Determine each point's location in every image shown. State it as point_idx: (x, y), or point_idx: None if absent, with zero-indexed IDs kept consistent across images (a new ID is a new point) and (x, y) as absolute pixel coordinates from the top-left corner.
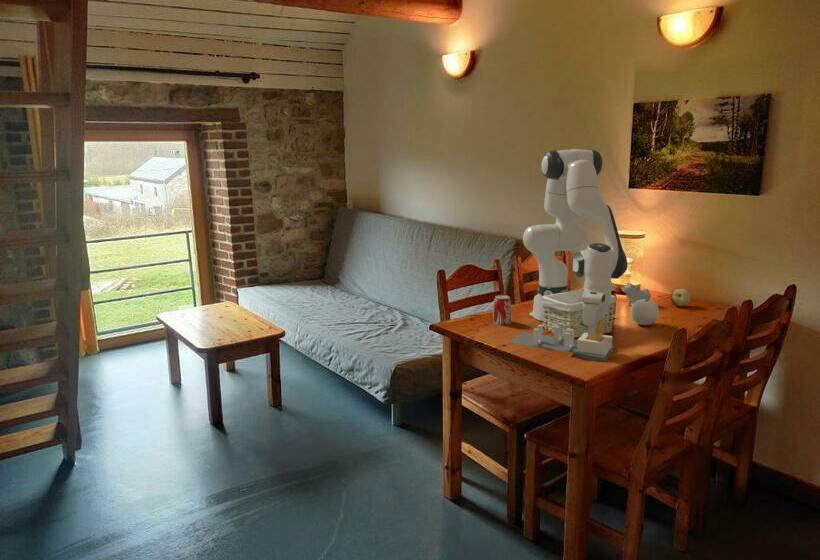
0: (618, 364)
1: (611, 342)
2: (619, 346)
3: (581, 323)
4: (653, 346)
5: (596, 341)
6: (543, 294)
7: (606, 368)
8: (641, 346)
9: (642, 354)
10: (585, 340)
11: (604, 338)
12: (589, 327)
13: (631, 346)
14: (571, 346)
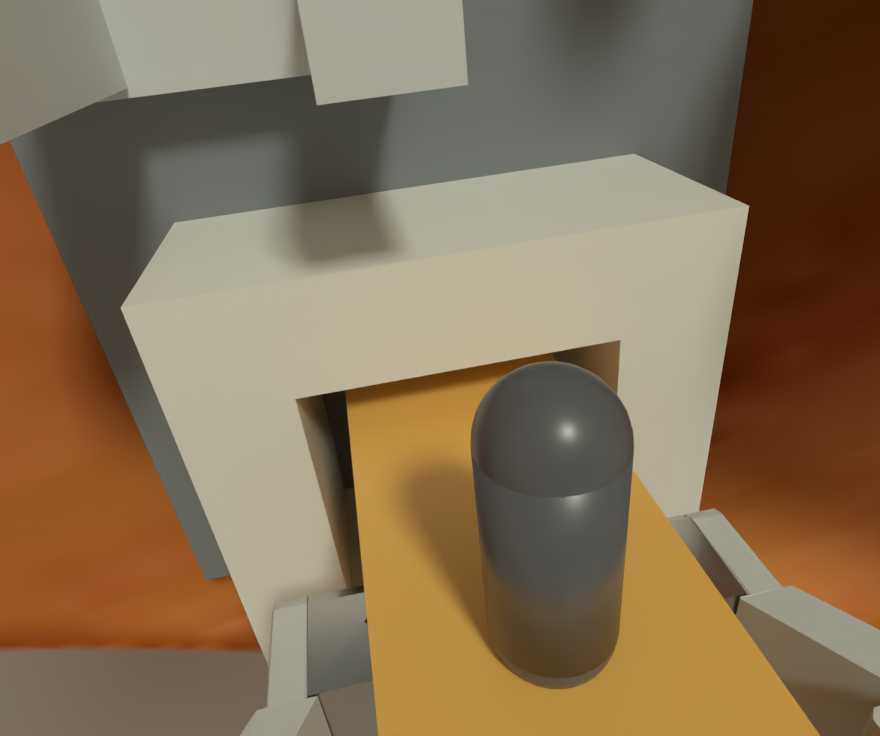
0: (249, 633)
1: None
2: (785, 446)
3: (479, 478)
4: (854, 611)
5: (301, 579)
6: None
7: (44, 620)
8: (834, 562)
9: None
10: (217, 444)
11: None
12: (371, 664)
13: (813, 514)
14: (234, 83)
